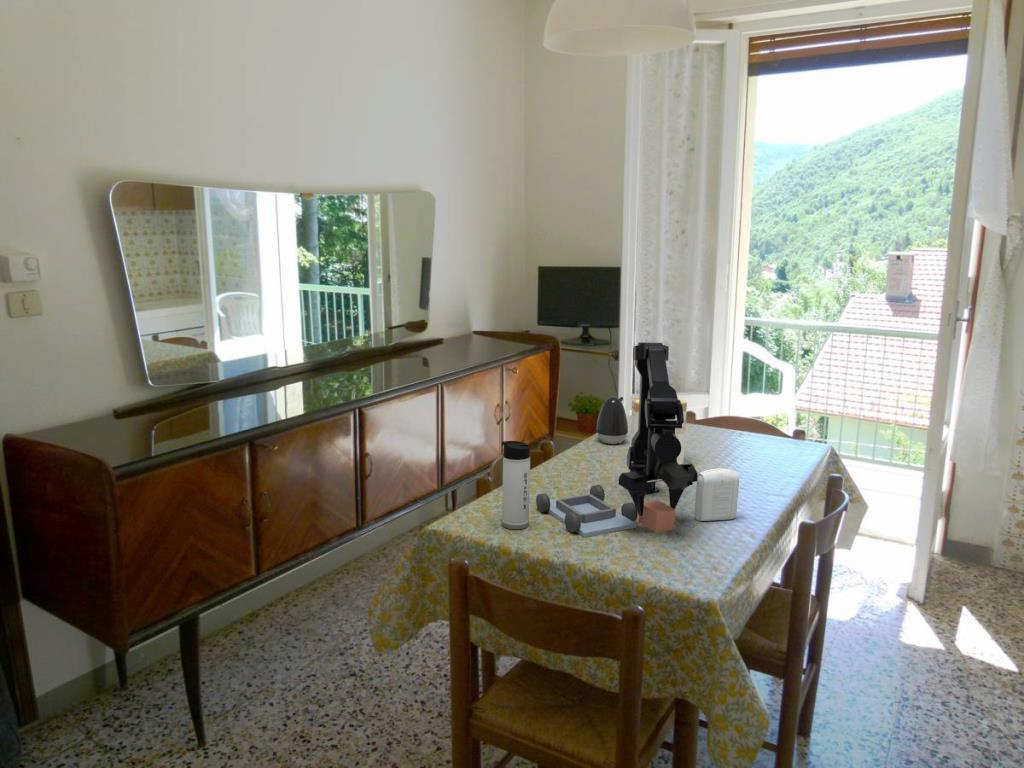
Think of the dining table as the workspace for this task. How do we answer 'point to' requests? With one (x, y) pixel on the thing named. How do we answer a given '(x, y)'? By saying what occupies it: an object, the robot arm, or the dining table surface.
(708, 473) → the photo printer
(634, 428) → the coffeecake box
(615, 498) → the dining table surface
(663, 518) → the salmon pink brick
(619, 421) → the dark grey tapered dome
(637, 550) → the dining table surface
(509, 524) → the travel mug
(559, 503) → the chassis
